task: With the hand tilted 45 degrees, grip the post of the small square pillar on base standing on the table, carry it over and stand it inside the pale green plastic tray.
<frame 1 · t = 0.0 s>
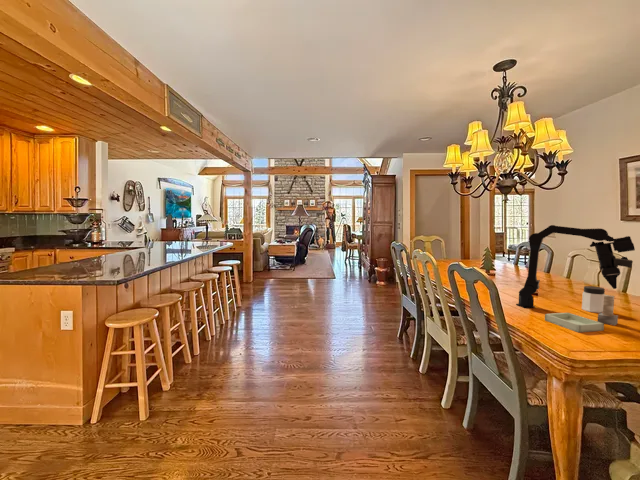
hand: (614, 287, 149), 15 cm above the table, tool pointing down, fingers open, 9 cm apart
tray: (572, 325, 142), on the table
jar: (592, 310, 164), on the table
square pillar on base: (607, 322, 145), on the table
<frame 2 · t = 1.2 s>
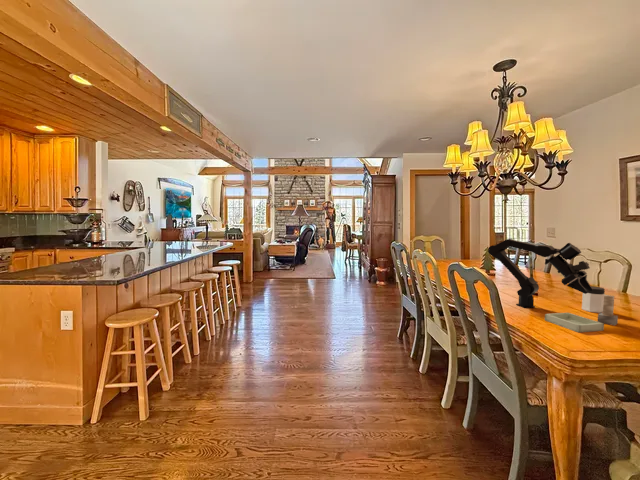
hand: (589, 291, 150), 13 cm above the table, tool tilted 45°, fingers open, 9 cm apart
nothing on the table moved.
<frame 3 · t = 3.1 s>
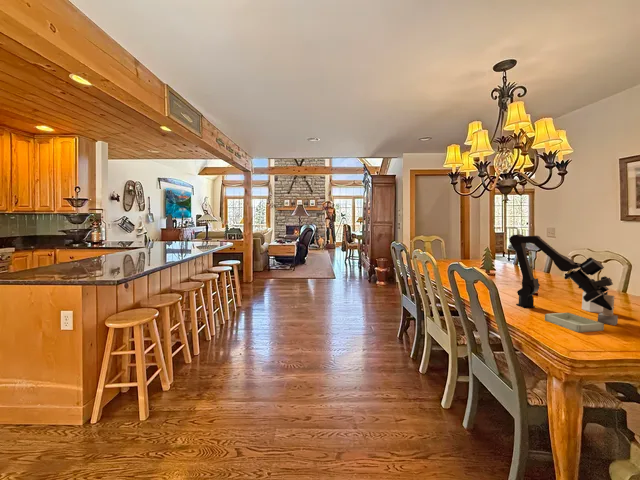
hand: (612, 309, 144), 7 cm above the table, tool tilted 45°, fingers closed on square pillar on base, 3 cm apart
square pillar on base: (607, 322, 145), on the table, touching gripper
everything else where it was.
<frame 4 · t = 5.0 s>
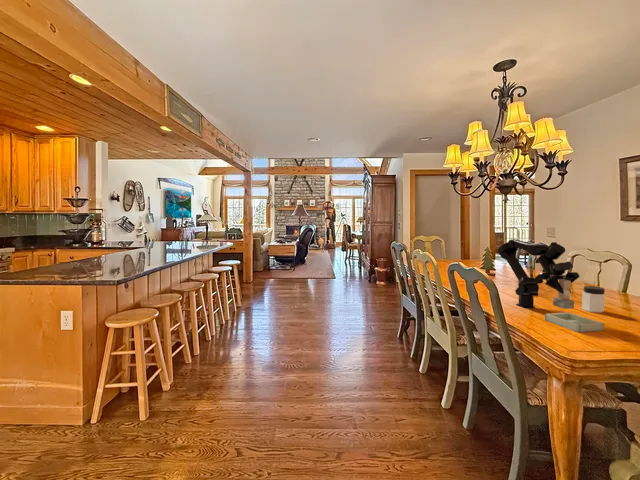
hand: (566, 293, 146), 13 cm above the table, tool tilted 45°, fingers closed on square pillar on base, 3 cm apart
square pillar on base: (563, 306, 148), point 7 cm above the table, touching gripper
everything else where it was.
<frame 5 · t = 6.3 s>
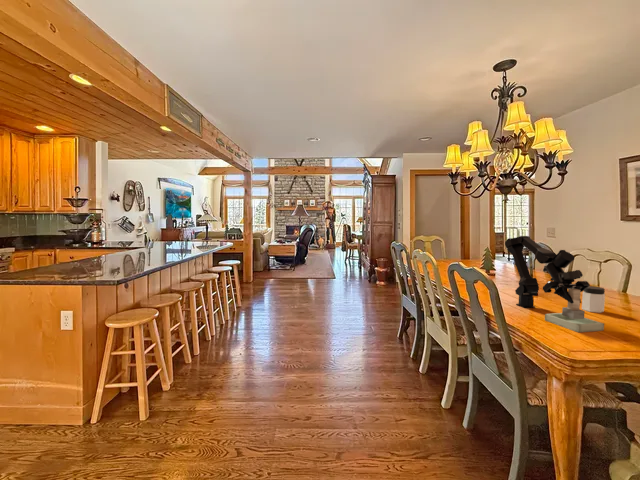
hand: (576, 302, 140), 10 cm above the table, tool tilted 45°, fingers closed on square pillar on base, 3 cm apart
square pillar on base: (572, 316, 142), point 4 cm above the table, touching gripper
everything else where it was.
when the fingers open (8 cm above the table, at t = 7.3 s): square pillar on base stays where it is, resting on tray.
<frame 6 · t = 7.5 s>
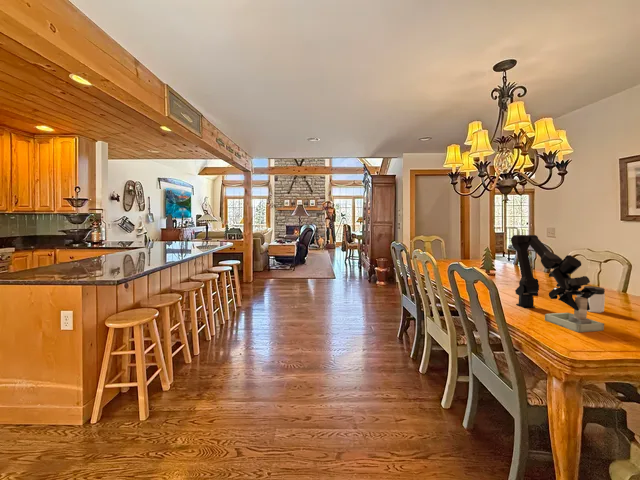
hand: (583, 310, 137), 8 cm above the table, tool tilted 45°, fingers open, 5 cm apart
square pillar on base: (579, 326, 139), point 1 cm above the table, touching tray
everything else where it was.
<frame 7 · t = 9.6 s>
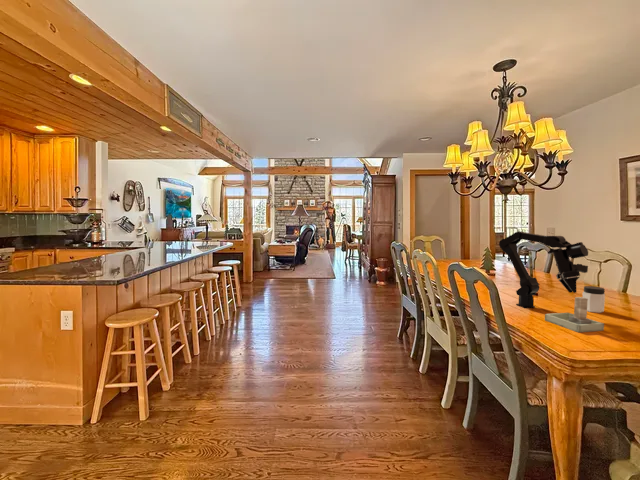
hand: (572, 292, 152), 12 cm above the table, tool tilted 20°, fingers open, 9 cm apart
nothing on the table moved.
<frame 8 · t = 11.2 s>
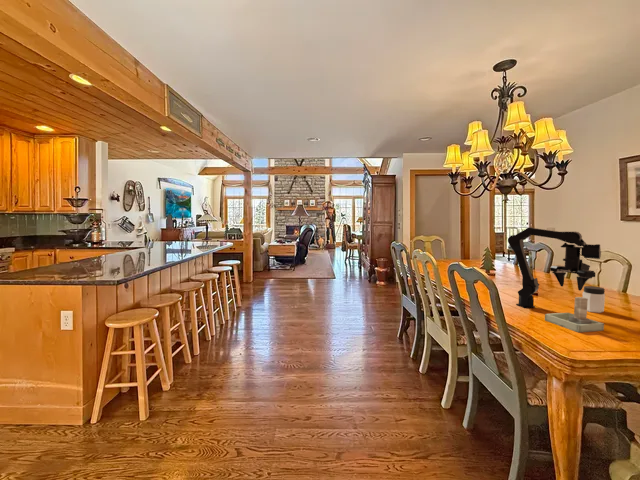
hand: (570, 288, 157), 13 cm above the table, tool pointing down, fingers open, 9 cm apart
nothing on the table moved.
at the end: square pillar on base inside the target area on the tray (3.0 cm from its centre), point 0.6 cm above the tray's base; square pillar on base tilted 0°; the gripper is holding nothing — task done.
